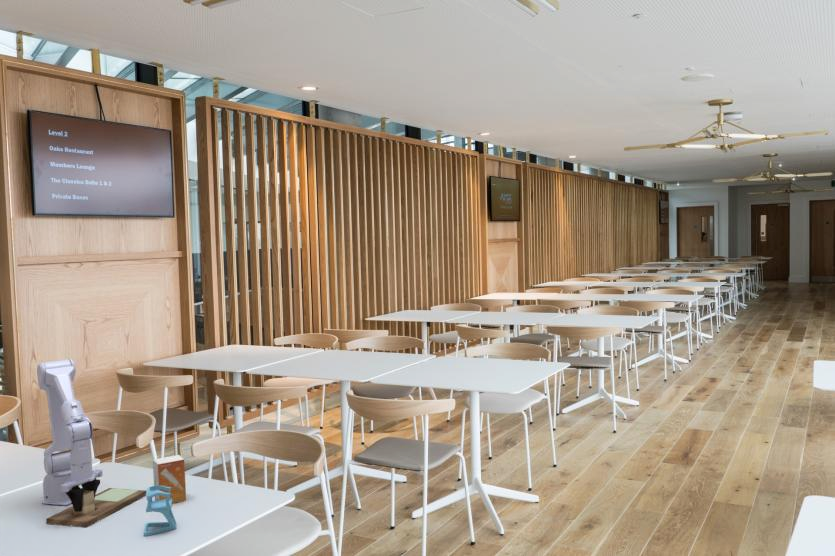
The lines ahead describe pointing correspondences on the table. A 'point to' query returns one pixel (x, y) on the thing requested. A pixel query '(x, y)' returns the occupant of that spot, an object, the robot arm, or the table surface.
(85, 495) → the maple block
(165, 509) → the chair
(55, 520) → the walnut pocket board
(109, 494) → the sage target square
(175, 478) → the small box
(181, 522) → the table surface
